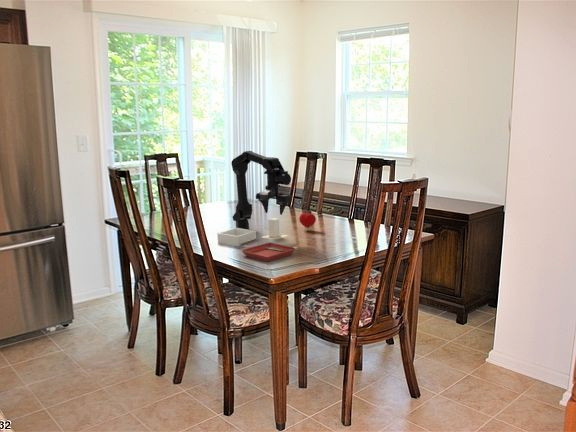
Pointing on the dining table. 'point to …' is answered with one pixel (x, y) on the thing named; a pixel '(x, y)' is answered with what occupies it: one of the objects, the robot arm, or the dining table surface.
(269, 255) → the plant saucer
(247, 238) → the grey bin
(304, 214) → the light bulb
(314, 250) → the dining table surface
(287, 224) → the dining table surface
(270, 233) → the strut
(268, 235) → the stud base
